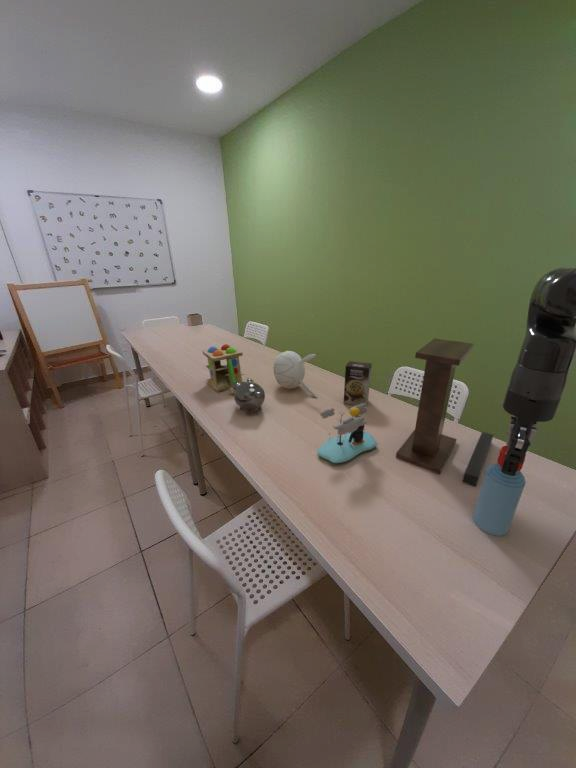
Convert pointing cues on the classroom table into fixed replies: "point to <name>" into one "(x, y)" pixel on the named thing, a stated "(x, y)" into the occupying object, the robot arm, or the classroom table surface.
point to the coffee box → (357, 383)
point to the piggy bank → (248, 396)
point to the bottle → (498, 500)
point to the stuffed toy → (291, 370)
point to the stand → (434, 405)
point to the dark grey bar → (477, 459)
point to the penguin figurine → (347, 437)
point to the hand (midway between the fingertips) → (508, 467)
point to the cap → (502, 458)
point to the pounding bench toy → (223, 367)
